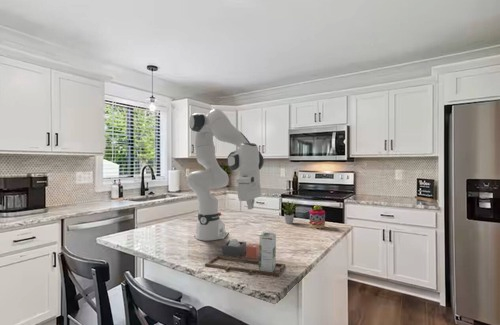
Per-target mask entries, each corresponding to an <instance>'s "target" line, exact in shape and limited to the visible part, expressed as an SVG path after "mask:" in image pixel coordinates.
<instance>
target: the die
mask: <svg viewBox="0 0 500 325" xmlns="http://www.w3.org/2000/svg"><path fill="white" fill-rule="evenodd" d="M245 256H246V258H250V259H258V258H259V244H257V243H248V244H246V252H245Z"/></svg>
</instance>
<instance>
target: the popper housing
mask: <svg viewBox="0 0 500 325" xmlns="http://www.w3.org/2000/svg"><path fill="white" fill-rule="evenodd" d="M230 241H231V240H228V241H227V242H225V243H224V244H221V256H225V257H233V258H239V257H242V256H243V255H244V254H246V246H247V242H246V241H239V240H238V241H239V243H240V246H238V247H237V246H228V244H229V242H230Z"/></svg>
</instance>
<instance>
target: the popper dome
mask: <svg viewBox="0 0 500 325" xmlns="http://www.w3.org/2000/svg"><path fill="white" fill-rule="evenodd" d="M228 246H237V247H238V246H240V243H239V240H238V239H235V238H233V239H231V240H230V242H229V244H228Z"/></svg>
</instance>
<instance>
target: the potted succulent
mask: <svg viewBox="0 0 500 325" xmlns="http://www.w3.org/2000/svg"><path fill="white" fill-rule="evenodd" d="M308 219H309V222H308V223H309V228H310V227H311V229H314V228H323V229H325V228H326V211H325V210H323V207H322V205H319V206H318V205H314V206H313V209H310V210H309V216H308ZM324 227H325V228H324Z"/></svg>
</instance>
